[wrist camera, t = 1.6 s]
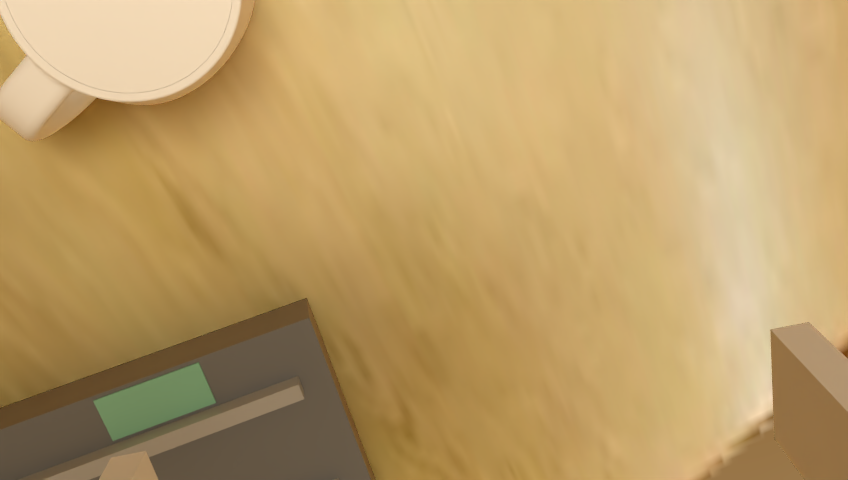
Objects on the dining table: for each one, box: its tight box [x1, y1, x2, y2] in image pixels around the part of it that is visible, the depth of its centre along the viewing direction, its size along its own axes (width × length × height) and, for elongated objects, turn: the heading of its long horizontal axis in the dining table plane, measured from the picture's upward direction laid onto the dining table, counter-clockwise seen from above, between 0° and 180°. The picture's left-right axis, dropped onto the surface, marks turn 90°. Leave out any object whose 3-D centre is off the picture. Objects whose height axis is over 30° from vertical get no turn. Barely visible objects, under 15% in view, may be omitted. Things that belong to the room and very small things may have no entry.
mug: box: [0, 0, 255, 141], centre depth 29 cm, size 12×9×8 cm
